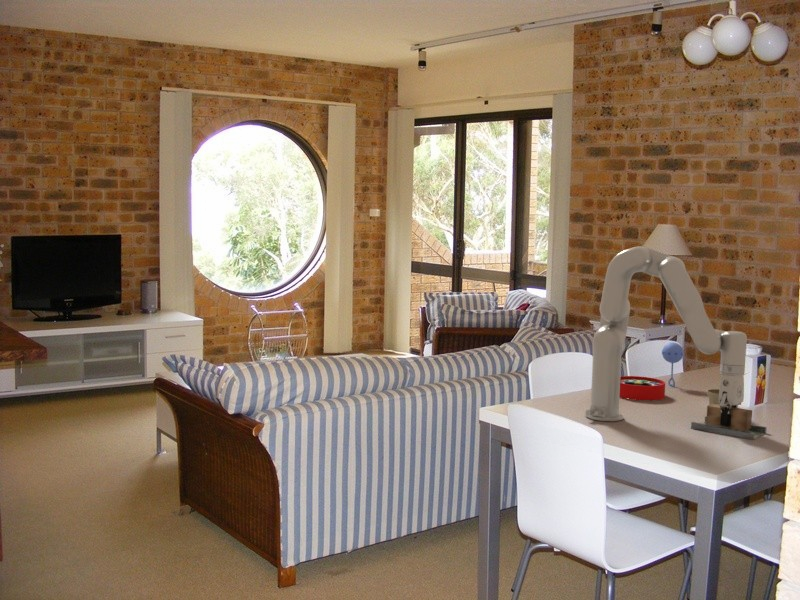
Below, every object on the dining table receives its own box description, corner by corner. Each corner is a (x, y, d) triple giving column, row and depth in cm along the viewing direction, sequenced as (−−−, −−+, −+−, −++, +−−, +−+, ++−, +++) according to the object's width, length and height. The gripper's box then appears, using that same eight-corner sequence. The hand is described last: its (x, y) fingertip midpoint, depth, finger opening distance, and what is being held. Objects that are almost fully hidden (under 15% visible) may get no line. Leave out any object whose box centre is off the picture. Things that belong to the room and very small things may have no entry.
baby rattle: (655, 384, 363) (658, 341, 361) (673, 383, 365) (676, 340, 363) (667, 388, 354) (670, 344, 353) (686, 387, 357) (688, 343, 355)
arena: (752, 439, 276) (752, 433, 276) (691, 428, 289) (691, 422, 289) (766, 433, 285) (766, 427, 285) (706, 422, 299) (706, 416, 298)
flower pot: (732, 414, 312) (733, 390, 311) (734, 420, 303) (736, 395, 302) (704, 411, 314) (705, 388, 313) (705, 417, 305) (707, 393, 304)
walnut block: (706, 423, 290) (707, 405, 289) (711, 421, 293) (712, 403, 292) (746, 430, 281) (747, 412, 281) (750, 428, 285) (752, 410, 284)
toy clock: (655, 388, 326) (603, 381, 337) (654, 403, 326) (603, 396, 338) (672, 380, 342) (623, 373, 353) (671, 395, 343) (622, 388, 354)
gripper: (734, 374, 276) (730, 430, 278) (753, 367, 289) (749, 422, 291) (710, 370, 281) (706, 426, 283) (730, 364, 294) (727, 418, 296)
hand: (728, 423), depth 287 cm, fingers closed on walnut block, 4 cm apart
